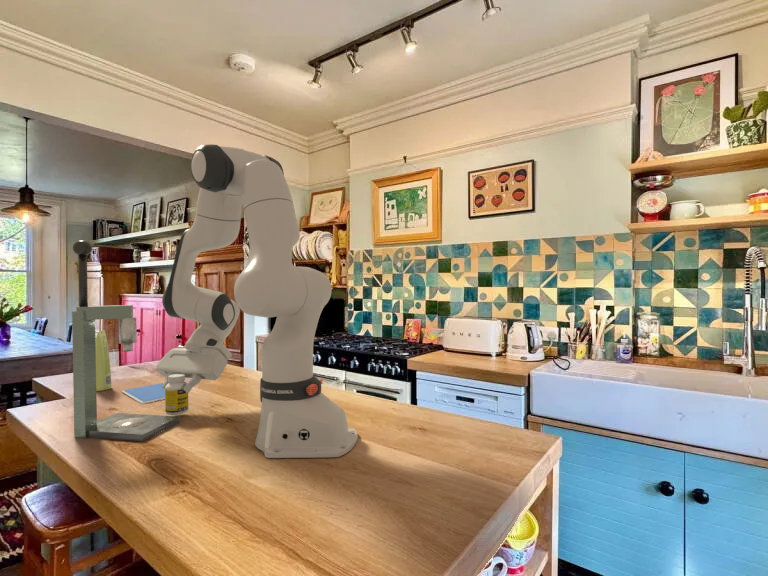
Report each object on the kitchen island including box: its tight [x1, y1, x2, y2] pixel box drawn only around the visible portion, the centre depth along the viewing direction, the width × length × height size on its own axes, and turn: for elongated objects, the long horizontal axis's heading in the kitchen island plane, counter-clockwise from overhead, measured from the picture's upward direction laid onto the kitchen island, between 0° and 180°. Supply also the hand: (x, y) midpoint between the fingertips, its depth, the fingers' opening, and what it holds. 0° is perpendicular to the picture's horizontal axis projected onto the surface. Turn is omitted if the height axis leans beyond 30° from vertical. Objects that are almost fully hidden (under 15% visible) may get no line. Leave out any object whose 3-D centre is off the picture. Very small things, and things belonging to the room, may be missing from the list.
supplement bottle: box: [164, 374, 189, 416], centre depth 105 cm, size 5×5×10 cm
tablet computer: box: [121, 382, 165, 405], centre depth 127 cm, size 19×13×1 cm, turn 49°
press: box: [71, 240, 180, 442], centre depth 96 cm, size 18×13×45 cm
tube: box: [95, 329, 112, 392], centre depth 133 cm, size 6×5×20 cm
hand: (174, 390), depth 105 cm, fingers closed on supplement bottle, 5 cm apart
